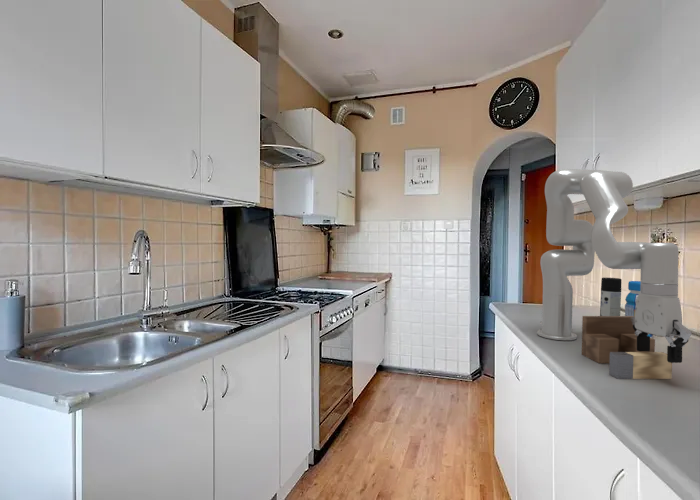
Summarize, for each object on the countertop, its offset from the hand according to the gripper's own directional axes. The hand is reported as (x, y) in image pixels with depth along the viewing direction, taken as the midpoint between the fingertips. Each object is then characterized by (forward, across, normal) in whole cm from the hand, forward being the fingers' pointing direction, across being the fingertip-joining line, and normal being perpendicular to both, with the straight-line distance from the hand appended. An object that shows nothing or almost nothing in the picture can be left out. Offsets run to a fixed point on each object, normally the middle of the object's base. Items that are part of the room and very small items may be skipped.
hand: (658, 356), depth 97 cm
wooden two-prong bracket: (+5, -15, 0) cm, 16 cm away
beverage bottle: (+5, -40, +26) cm, 48 cm away
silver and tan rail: (+6, -1, -4) cm, 7 cm away
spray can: (+4, -52, +24) cm, 57 cm away
